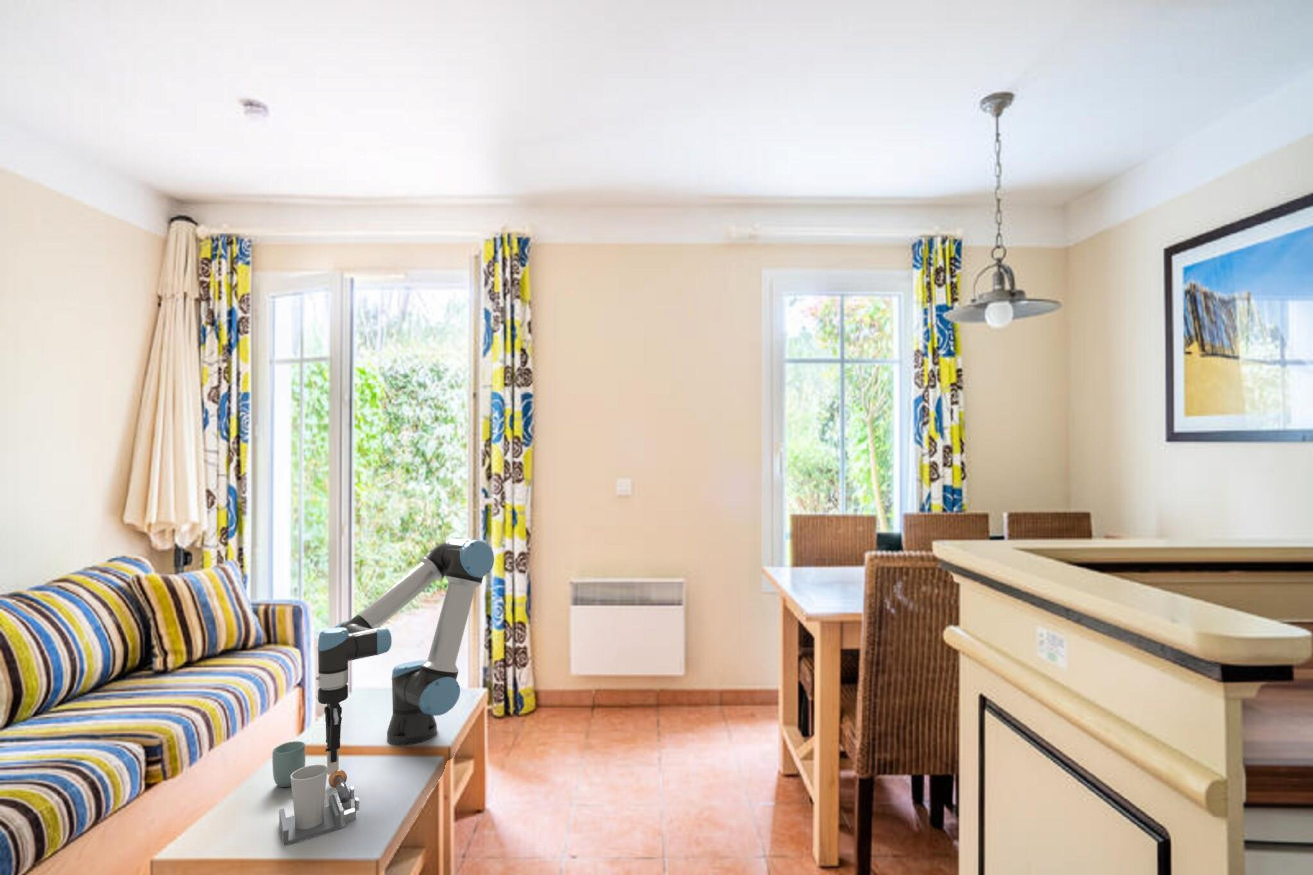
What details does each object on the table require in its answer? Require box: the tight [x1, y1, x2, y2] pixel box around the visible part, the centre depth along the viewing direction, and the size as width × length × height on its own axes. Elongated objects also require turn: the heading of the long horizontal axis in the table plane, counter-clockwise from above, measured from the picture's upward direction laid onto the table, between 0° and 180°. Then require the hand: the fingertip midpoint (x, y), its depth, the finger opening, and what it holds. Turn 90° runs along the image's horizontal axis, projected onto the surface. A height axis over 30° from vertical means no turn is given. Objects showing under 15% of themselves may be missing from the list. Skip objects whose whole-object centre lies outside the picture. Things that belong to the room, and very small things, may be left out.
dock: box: [278, 794, 342, 847], centre depth 161 cm, size 12×12×3 cm
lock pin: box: [327, 769, 351, 803], centre depth 173 cm, size 13×4×4 cm, turn 34°
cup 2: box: [290, 764, 328, 829], centre depth 161 cm, size 8×8×12 cm
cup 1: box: [271, 740, 306, 788], centre depth 183 cm, size 8×8×10 cm
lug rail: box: [332, 785, 360, 829], centre depth 166 cm, size 4×12×4 cm, turn 34°
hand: (332, 772), depth 183 cm, fingers closed
